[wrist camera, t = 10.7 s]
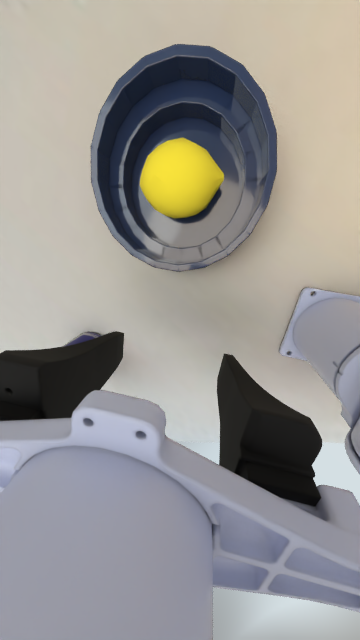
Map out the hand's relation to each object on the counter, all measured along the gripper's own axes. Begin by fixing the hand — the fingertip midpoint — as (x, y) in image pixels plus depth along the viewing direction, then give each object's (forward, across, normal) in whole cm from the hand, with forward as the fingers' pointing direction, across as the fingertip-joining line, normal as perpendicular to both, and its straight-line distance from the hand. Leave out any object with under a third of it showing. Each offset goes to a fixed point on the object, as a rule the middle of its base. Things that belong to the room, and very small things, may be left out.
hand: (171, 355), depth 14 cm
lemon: (+10, +2, -12) cm, 16 cm away
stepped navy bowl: (+10, +2, -12) cm, 16 cm away
